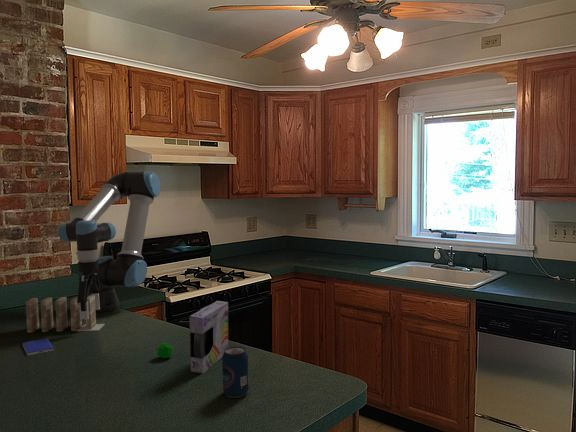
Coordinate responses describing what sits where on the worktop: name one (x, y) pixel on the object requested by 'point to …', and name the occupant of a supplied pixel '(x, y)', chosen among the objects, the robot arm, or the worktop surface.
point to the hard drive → (37, 346)
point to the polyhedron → (164, 350)
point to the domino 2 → (47, 314)
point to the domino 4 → (75, 314)
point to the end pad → (95, 328)
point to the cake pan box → (208, 336)
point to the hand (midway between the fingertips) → (90, 314)
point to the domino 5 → (91, 312)
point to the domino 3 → (61, 313)
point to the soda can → (235, 372)
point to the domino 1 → (32, 314)
